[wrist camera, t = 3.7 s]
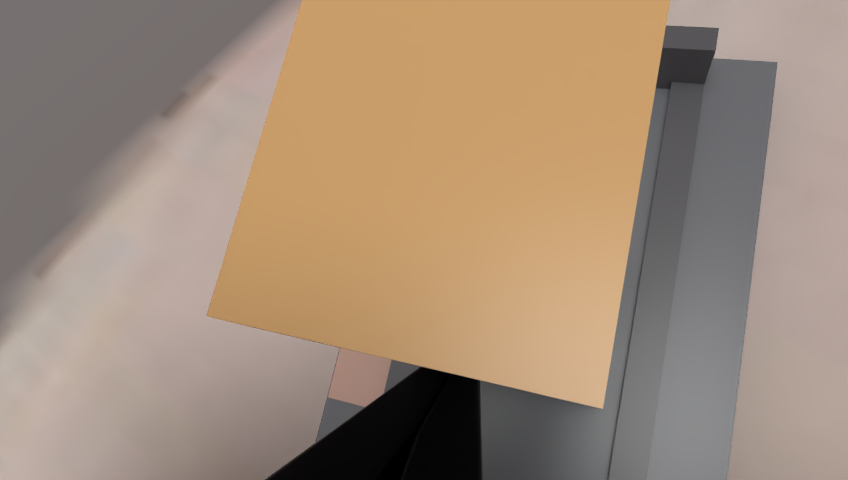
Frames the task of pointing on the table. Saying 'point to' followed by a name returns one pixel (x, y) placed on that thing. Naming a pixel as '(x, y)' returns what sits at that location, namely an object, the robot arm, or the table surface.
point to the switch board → (646, 298)
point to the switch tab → (452, 186)
